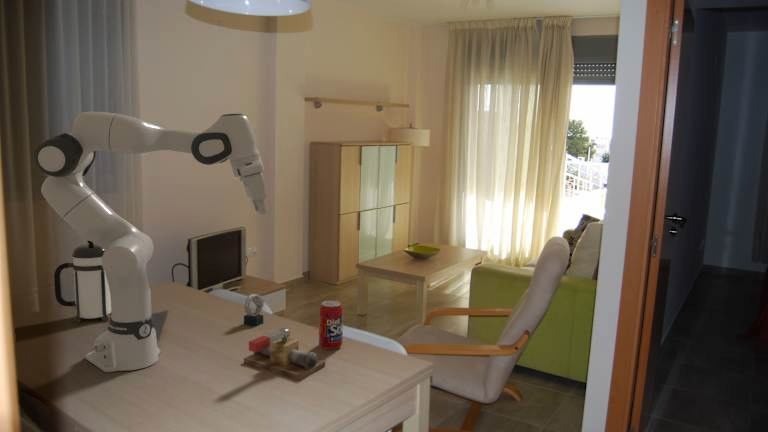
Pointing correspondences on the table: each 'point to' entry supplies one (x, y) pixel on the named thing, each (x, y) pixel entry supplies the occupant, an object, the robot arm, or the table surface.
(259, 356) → the valve mount
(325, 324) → the soda can
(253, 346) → the valve lever
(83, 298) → the coffee press
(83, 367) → the table surface
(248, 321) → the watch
